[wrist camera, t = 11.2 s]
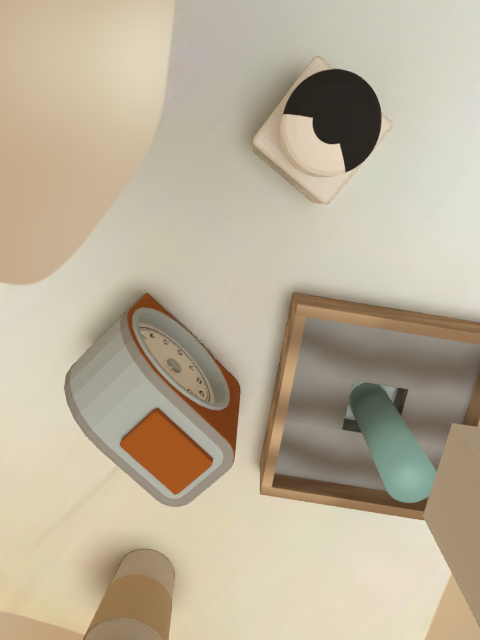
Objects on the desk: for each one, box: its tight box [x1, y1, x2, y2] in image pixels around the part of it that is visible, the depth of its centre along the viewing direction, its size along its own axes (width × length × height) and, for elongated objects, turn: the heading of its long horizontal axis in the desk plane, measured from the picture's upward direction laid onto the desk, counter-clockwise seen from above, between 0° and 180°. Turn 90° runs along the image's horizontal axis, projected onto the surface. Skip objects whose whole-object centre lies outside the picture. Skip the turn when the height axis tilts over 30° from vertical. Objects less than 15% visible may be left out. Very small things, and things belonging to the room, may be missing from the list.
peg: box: [349, 383, 437, 503], centre depth 42 cm, size 4×4×14 cm
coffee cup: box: [83, 549, 175, 640], centre depth 48 cm, size 9×9×15 cm
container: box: [253, 56, 392, 204], centre depth 36 cm, size 8×8×13 cm
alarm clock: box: [64, 293, 240, 507], centre depth 42 cm, size 15×8×14 cm, turn 44°
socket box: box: [260, 293, 480, 520], centre depth 46 cm, size 20×20×5 cm
